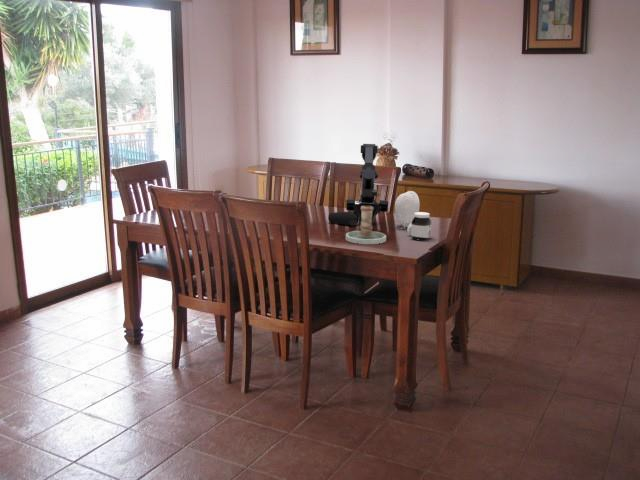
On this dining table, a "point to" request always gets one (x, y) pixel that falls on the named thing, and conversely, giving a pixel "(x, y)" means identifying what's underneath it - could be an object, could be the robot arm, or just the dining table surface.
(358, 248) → the dining table surface
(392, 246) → the dining table surface
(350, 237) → the round tray
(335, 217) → the drinking cup
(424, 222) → the spread jar
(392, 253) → the dining table surface
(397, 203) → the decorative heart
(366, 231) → the bead tower
